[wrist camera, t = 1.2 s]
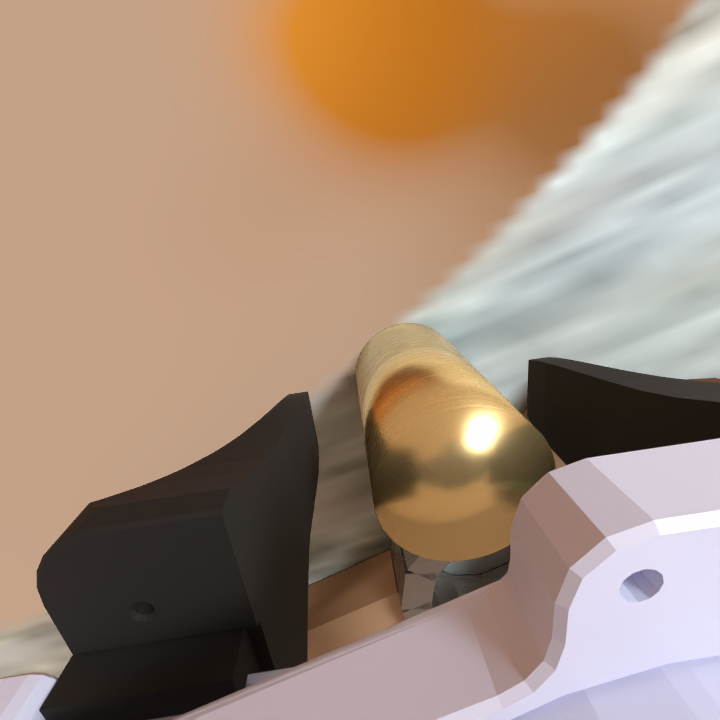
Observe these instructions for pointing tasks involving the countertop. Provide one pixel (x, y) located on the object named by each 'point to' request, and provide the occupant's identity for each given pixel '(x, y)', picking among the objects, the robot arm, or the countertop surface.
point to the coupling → (384, 594)
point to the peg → (442, 446)
